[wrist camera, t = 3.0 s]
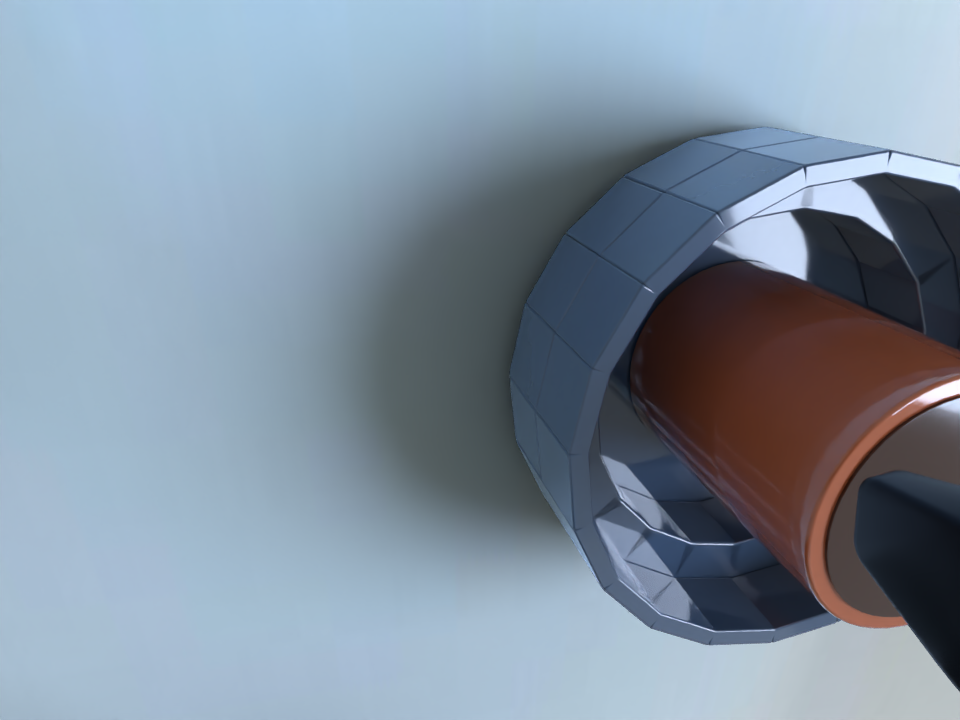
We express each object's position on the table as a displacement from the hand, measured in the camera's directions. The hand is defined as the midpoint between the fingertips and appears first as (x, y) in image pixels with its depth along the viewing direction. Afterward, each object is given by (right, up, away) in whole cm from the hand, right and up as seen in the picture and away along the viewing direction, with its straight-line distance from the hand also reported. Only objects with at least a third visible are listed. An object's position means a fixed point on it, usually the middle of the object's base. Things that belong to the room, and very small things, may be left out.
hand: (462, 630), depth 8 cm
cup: (+7, +3, +15) cm, 17 cm away
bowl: (+7, +3, +16) cm, 17 cm away
